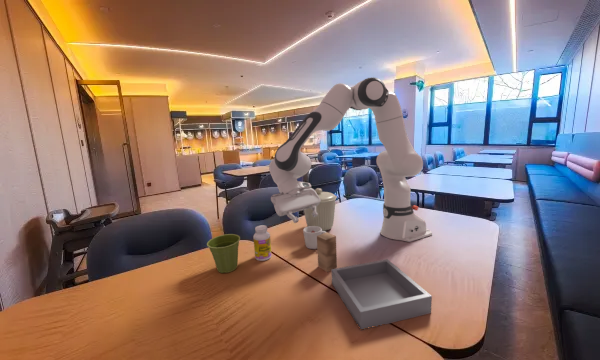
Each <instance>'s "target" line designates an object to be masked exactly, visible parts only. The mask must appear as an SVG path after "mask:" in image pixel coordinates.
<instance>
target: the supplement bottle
mask: <svg viewBox="0 0 600 360" xmlns="http://www.w3.org/2000/svg"><path fill="white" fill-rule="evenodd" d="M254 231H255V233H254V234H253V237H252V238H253V246H254V247H253V248H254V258H255V260H257V261H259V262H264V261H267V260H270V259H271V257H272V244H271V243H272V242H271V233H270V232H269V231H268V227H267V225H263V224H262V225H257V226H255V228H254Z"/></svg>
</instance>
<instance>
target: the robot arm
mask: <svg viewBox="0 0 600 360" xmlns="http://www.w3.org/2000/svg"><path fill="white" fill-rule="evenodd" d="M349 109H352V110H355V111H362V110H367V109H368V110H369V109H370V110H371V111H372V113H373V115H374V120H375V126H376V130H377V135H378V139H379V142H380V143H381V144H382V145H383V147H384V149H385V150H383V151H380V152H379V153H378V155H377V156H376V162H375V163H376V166H377V167H378V168H379V171H380V175H381V178H382V183H383V184H382V185H383V199H384V200H383V201H384V203H383V204H382V212H383V221H382V225H381V229H380V234H381V236H383V237H385V238H387V239H391V240H397V241H404V242H408V243H409V242H414V241H417V240H420V239H423V238H427V237H430V236H433V232H432V230H430V229H429V228H427V224H426V221H425V220H424V218H422V217H421V216H419V215H418V214H416V213H415V212H414V211H418V210H419V206H417V205H413V204H411V193H412V192H411V186H410V185H409V183H408V182H407V181H408V180H407V178H410V177H411V178H412V177H416V176H417V175H419V174H420V173H421V171H422V169H423V167H424V161H423V160H424V159H423V158H422V156H421V155H419V154H418V153H417V152H416V150H415V149H414V147H413V145H412V143H411V141H410V139H409V135H408V133H407V131H406V130H407V129H406V125H405V121H404V115H403V110H402V107H401V103H400V101H399V98H398V96H397V94H396V93H395V92H393V91H389V90H388V89H387V87H386V85H385V83H384V82H383V80H381V79H380V78H378V77H374V76H373V77H367V78H364V79H363V80H361V81H359V82H357V83H356V84H355V85H353V86H352V87H350V86H349V85H347V84H345V83H340V82H339V83H338V82H337V83H336V84H333V86H332V88H330V90H329V91H328V92H326V95H325V96H324V97H323V99H322V100H321V102H320V103H319V104H318V106H317V107H316V108H315V109H314V110H313V111H312V112H310V113H308V114H307V115H306V117H304V119H303V120H302V121H301V122H300V123H299V124H298V126H297V127H296V128H295V130H294V131H293V132H292V134H291V135H290V136H289V137H288V139H286V140H285V142H283V143H282V144H281V145H280V146H279V147H278V148H277V149H276V151H275V153H274V158H273V159H272V160H270V163H269V165H268V166H269V167H268V169H269V174H270V175H271V178H272V180H273V183H275V184H276V186H277V190H278V192H279V193H276V194H275V193H274V194H272V195H271V196H270V201H271V203H272V204H273V207H274V210H275V212H276V215H277V216H279V217H283V216H287V217H288V218H289V219H290V220H292V221H293V223H294V224H296V223H299V221H300V219H299V218H298V216H295V215H294V213H297V212H302V211H304V210H305V209H309V208H311V210H313V213H312V216H313V217H316V216H317V215H318V213H317V212H316V206H318V205H319V204H320V201H321V200H320V198H319V196H318V194H317V193H316V191H315V189H314V188H312V184H311V183H310V182H305V181H300V180H299V181H298V179H300V178H302V177H304V176H306V175H307V174H308V173H309V172H310V170H311V168H312V160H311V157H309V156H308V155H307V154H305V153H303V152H302V151H301V149H302V148H303V147H304V145H305V144H306V143H307V142H308V140H309V139H310V138H311V136H312V135H313V134H314V133H316V132H318V131H323V132H324V131H325V132H326V131H332V130H334V129H336V128H337V126H338V125H339V124H340V123H341V121H342V120H343V118H344V117H345V115H346V114H347V112H348V110H349Z"/></svg>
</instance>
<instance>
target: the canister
mask: <svg viewBox="0 0 600 360" xmlns="http://www.w3.org/2000/svg"><path fill="white" fill-rule="evenodd" d="M314 190H315V191H316V193H317V194H318V196H319V198H320V200H321V201H320V204H319V205H318V206H316V212H317V213H318V215H317V216H316V217H313V216H312V213H313V210H311V208H309V209H305V210H303V212H304V218H305V222H306V227H309V226H318V227H320V228H321V229H322V231H326V232H327V231H329V230H330V229H332V228H333V226H334V221H335V212H336V199H337V197H338V196H337V195H335V194H334V193H332V192H330V191H329V192H328V191H323V189H322V188H319V187H317V188H315V189H314Z"/></svg>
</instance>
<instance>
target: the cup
mask: <svg viewBox="0 0 600 360" xmlns="http://www.w3.org/2000/svg"><path fill="white" fill-rule="evenodd" d="M302 232H303V237H304V238H303V239H304V244H305V247H306V248H307V249H309V250H316V249H317V236H318V235H321V234H323V233H326V232H327V230H326V231H322V229H321V228H320V227H318V226H309V227H308V226H305V227H304V228H303V230H302Z"/></svg>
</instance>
